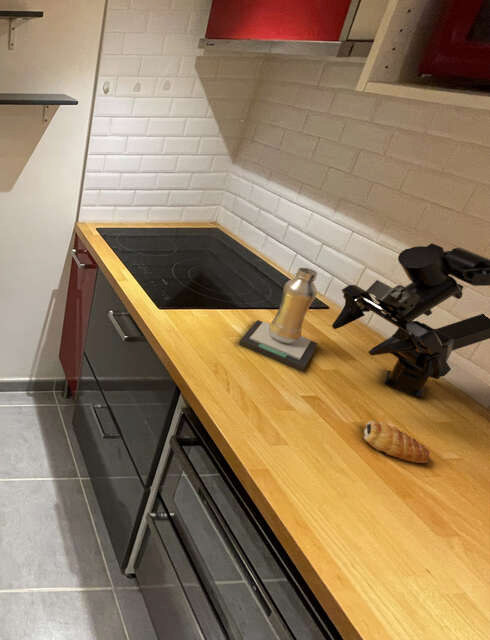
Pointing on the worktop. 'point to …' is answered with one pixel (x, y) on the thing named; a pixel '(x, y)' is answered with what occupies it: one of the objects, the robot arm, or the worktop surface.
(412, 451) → the pastry
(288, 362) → the scale
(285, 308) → the plastic bottle
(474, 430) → the worktop surface
